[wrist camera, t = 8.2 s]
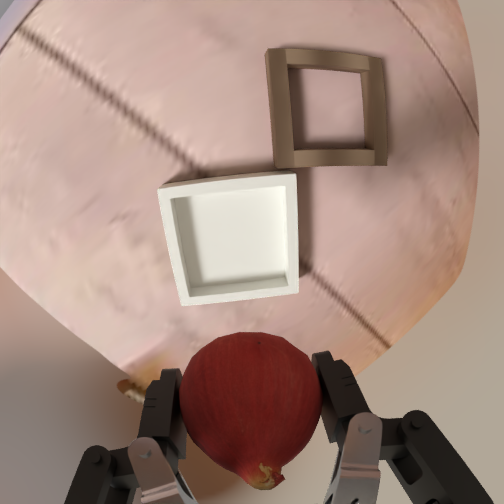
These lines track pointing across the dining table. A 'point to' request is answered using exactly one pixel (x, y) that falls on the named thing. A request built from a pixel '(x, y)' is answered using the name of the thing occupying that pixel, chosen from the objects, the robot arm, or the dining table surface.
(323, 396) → the robot arm
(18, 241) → the dining table surface
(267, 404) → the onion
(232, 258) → the tray
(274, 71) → the frame
